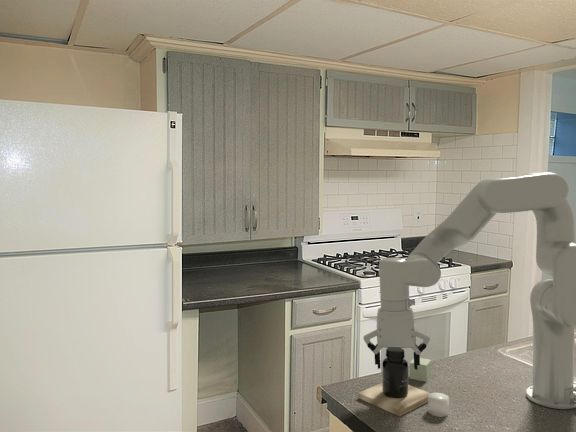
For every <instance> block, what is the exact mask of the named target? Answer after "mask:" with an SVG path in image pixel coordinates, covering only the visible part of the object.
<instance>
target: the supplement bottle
mask: <svg viewBox="0 0 576 432" xmlns="http://www.w3.org/2000/svg"><path fill="white" fill-rule="evenodd" d="M385 350H386V351H385V358H384V359H383V360H382V367H381V368H382V371H381V372H382V373H381V374H382V375H381V376H382V377H381V378H382V379H381V383H382V389H383V393H384V394H385V395H386V396H388V397H392V398H403V397H405V396H407V394H408V385H409V363H408V361H407V359H405V358H406V357H405V348H386V349H385Z"/></svg>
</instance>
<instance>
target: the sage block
mask: <svg viewBox="0 0 576 432" xmlns="http://www.w3.org/2000/svg"><path fill="white" fill-rule="evenodd" d="M417 367H418V370H416V369H415V368H414V357H413V358H412V360H410V362H409V380H414V381H419V382H420V381H421V382H425V383H427V382H428V381H429V380H430V378H431V376H432V360H431V359H428V358H423V357H420V365H417Z"/></svg>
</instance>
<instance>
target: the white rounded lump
mask: <svg viewBox="0 0 576 432" xmlns="http://www.w3.org/2000/svg"><path fill="white" fill-rule="evenodd" d="M430 393H431V394H429V395H428V402H427V404H428V405H427V406H428V407H427V409H428V413H429V414H430V415H431V416H434V417H438V418H443V417H444V418H445V417H447V416H449V415H450V397H449V396H448V394H445V393H441V392H430Z"/></svg>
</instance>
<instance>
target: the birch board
mask: <svg viewBox="0 0 576 432" xmlns="http://www.w3.org/2000/svg"><path fill="white" fill-rule="evenodd" d="M431 393H432V392H429V391H426V390H423V389H420V388H418V387H416V386H413V385H410V384H408V394H407V396H405V397H403V398H392V397H388V396H386V395H385V394H384V393H383V389H382V382H380V383H377V384H376V385H374V386H371V387H368V388H366V389H364V390H361V391H360V392H358V393H357V395H358V396H357V398H358V399H359V400H361V401H363V402H366V403H369V404H370V405H373V406H375V407H378V408H380V409H382V410H385V411H386V412H389V413H392V414H394V415H396V416H398V417H402V416H404V415H406V414H408V413H410V412H411V411H414V410H416V409H418V408H419V407H421V406H423V405H425V404H428V395H429V394H431Z"/></svg>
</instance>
